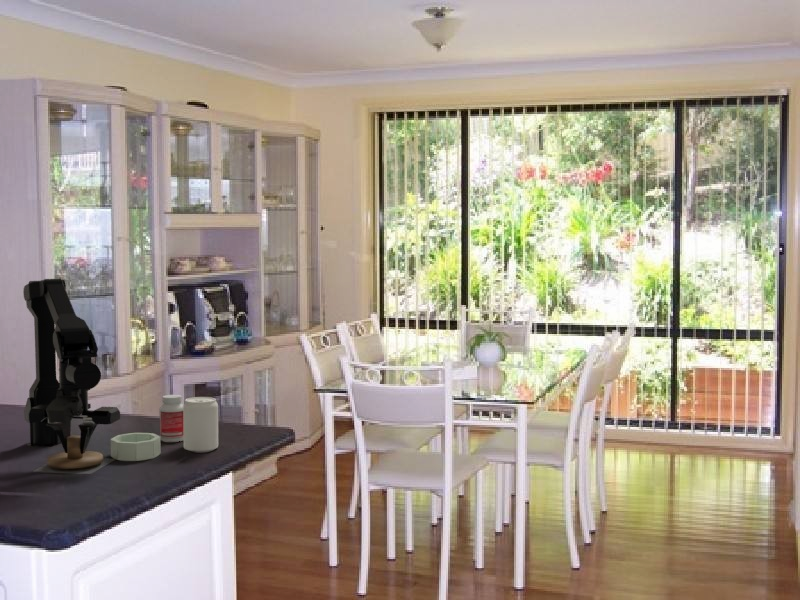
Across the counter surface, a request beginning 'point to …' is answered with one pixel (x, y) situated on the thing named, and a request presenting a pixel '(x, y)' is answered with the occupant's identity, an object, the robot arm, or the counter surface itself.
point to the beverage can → (200, 424)
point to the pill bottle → (171, 419)
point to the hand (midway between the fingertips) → (75, 453)
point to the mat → (75, 470)
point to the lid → (74, 456)
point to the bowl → (135, 446)
